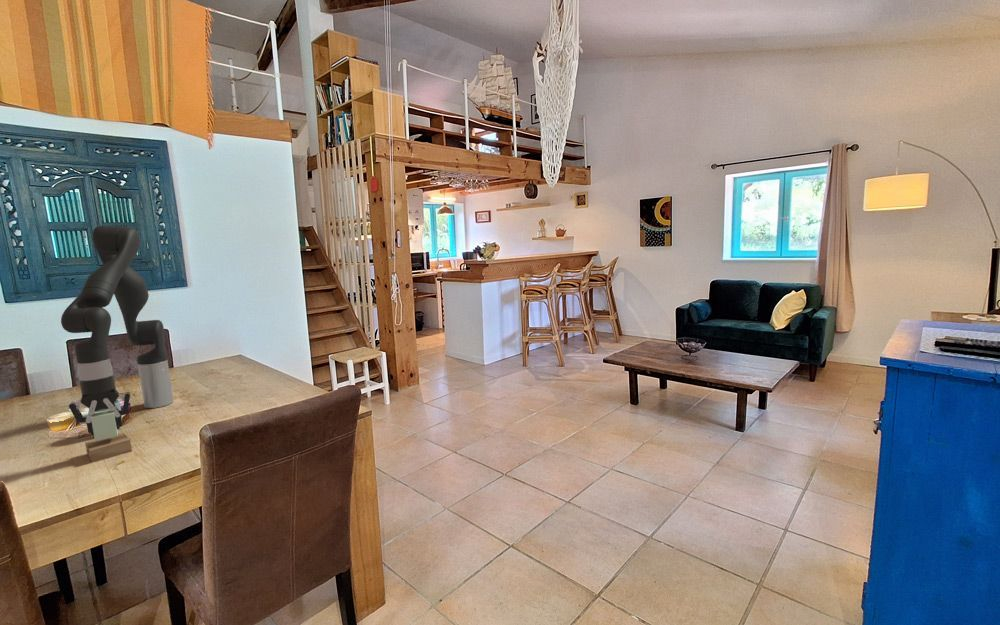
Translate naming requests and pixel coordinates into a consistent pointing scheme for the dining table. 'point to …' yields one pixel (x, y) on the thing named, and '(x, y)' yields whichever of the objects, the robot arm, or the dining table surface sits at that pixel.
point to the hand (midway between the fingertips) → (105, 430)
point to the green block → (104, 425)
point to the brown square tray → (108, 447)
